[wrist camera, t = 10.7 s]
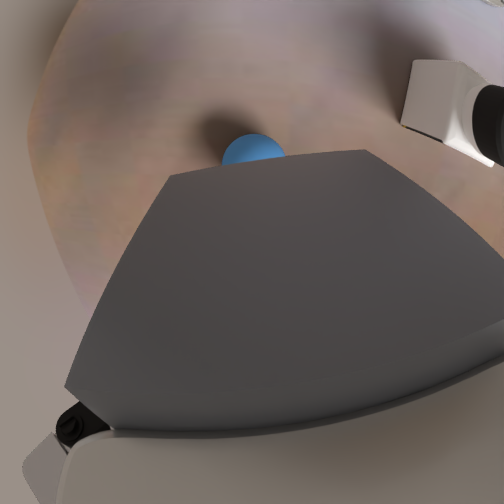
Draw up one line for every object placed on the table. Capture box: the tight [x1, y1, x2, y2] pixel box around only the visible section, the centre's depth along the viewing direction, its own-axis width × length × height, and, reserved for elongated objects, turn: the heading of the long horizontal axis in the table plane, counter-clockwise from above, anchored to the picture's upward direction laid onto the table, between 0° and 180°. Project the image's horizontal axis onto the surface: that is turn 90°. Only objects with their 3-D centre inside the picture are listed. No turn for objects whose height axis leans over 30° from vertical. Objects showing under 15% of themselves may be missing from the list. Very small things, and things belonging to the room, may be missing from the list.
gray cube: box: [65, 150, 504, 431], centre depth 9 cm, size 8×8×9 cm
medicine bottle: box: [400, 60, 504, 167], centre depth 15 cm, size 7×7×12 cm
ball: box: [222, 134, 285, 165], centre depth 21 cm, size 5×5×5 cm
